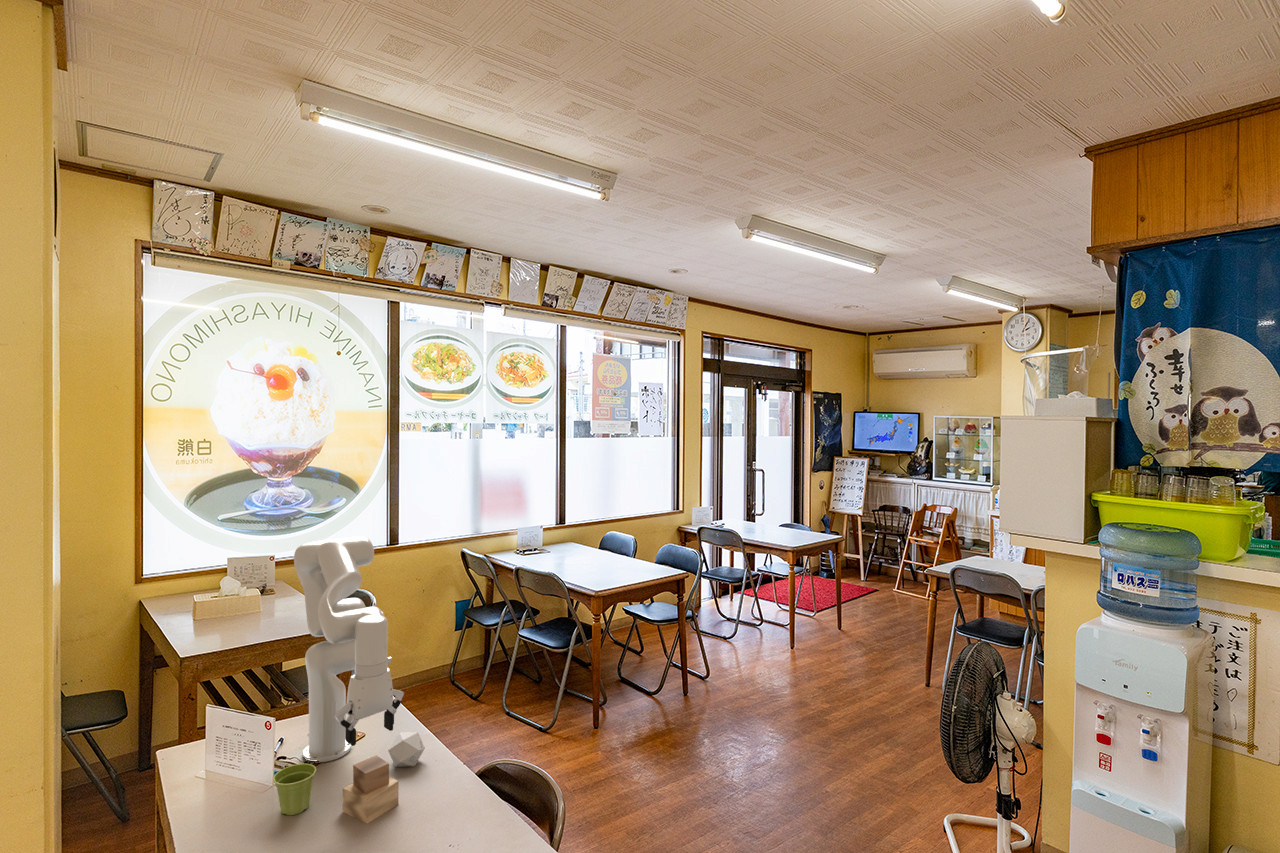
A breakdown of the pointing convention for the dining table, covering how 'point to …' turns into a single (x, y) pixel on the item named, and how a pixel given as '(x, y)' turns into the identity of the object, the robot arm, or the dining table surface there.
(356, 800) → the oak base
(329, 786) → the dining table surface
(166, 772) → the dining table surface
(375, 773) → the walnut block
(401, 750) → the die
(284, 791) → the plant pot
